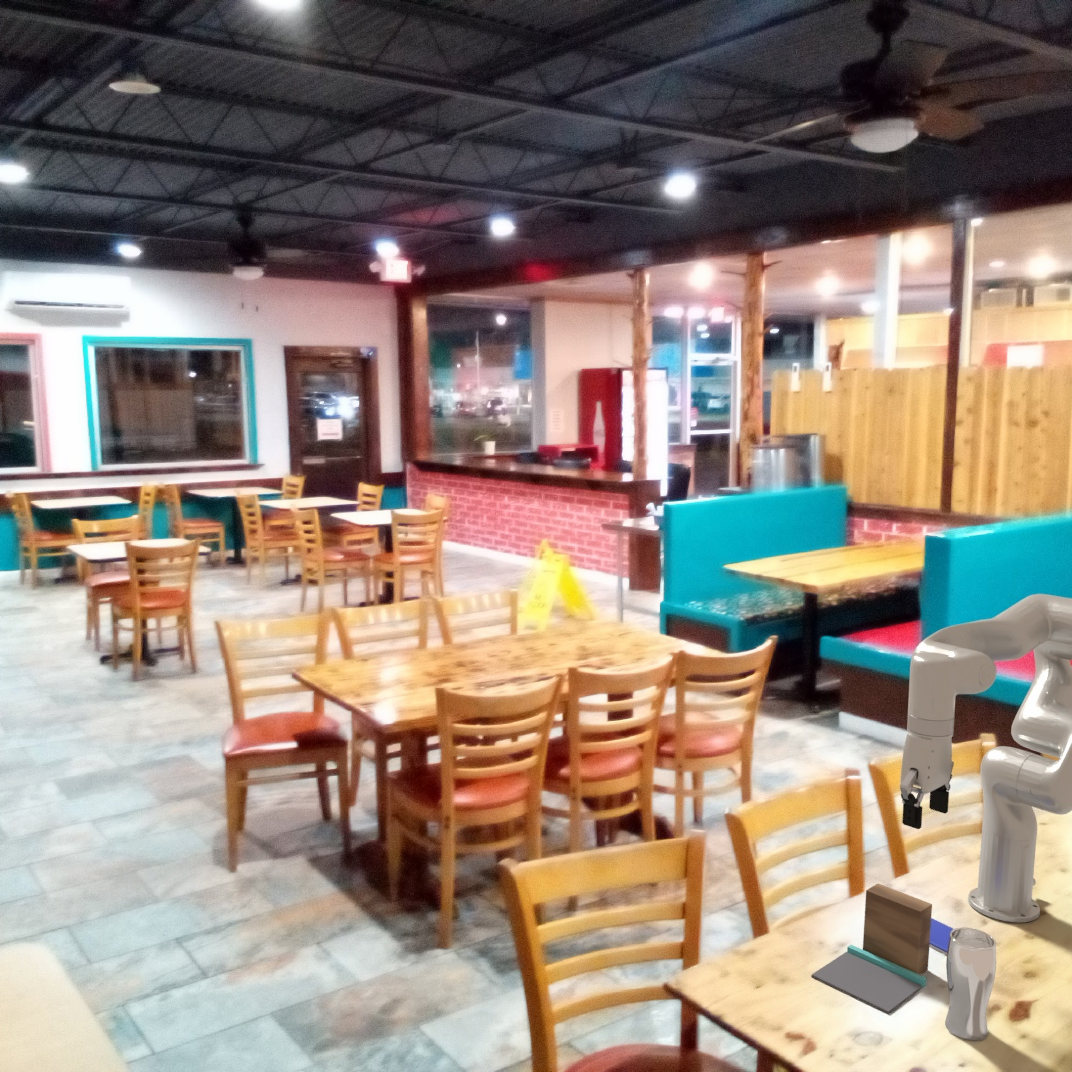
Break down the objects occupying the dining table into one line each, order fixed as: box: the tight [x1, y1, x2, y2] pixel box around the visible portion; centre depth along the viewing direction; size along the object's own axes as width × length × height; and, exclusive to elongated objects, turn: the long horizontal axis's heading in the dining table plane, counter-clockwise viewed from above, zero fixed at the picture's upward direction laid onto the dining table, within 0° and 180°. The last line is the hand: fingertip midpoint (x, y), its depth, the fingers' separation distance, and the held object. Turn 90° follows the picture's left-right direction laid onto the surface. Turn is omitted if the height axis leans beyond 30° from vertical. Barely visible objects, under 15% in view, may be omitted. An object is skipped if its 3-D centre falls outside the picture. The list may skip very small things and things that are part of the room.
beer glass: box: [944, 926, 997, 1042], centre depth 156 cm, size 7×7×15 cm
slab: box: [862, 883, 933, 976], centre depth 175 cm, size 4×10×12 cm, turn 42°
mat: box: [811, 951, 923, 1015], centre depth 169 cm, size 11×14×1 cm
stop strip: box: [846, 944, 928, 988], centre depth 173 cm, size 1×14×1 cm, turn 42°
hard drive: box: [929, 917, 954, 956], centre depth 182 cm, size 2×8×12 cm
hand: (925, 818), depth 177 cm, fingers open, 9 cm apart
